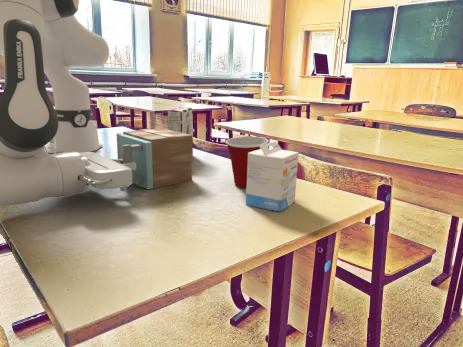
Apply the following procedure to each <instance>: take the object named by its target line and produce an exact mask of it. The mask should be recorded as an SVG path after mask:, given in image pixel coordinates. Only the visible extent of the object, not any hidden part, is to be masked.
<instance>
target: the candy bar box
mask: <svg viewBox="0 0 463 347" xmlns="http://www.w3.org/2000/svg"><path fill="white" fill-rule="evenodd" d="M166 115H167V130H172V131H176V132H180V133H185V134H189V135H192V156H194V148H193V146H194V143H193V141H194V139H193V136H194V135H193V134H194V133H193V131H194V130H193V107H185V106H184V107H183V106H181V107H176V108H172V109H169V110H167V114H166Z"/></svg>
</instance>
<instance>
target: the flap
mask: <svg viewBox="0 0 463 347" xmlns="http://www.w3.org/2000/svg"><path fill="white" fill-rule="evenodd" d="M116 147H117V149H116V150H117V159H123V164H125V163H126V162H131V161H132V162H135V163H136V170H132V184H135V185H138V186H140V187H141V188H144V189H146V190H151V189H154V188H153V169H152V142H149V141H146V140H142V139H139V138H135V137H132V136H129V135H125V134H123V133H121V132H120V133H117V132H116Z"/></svg>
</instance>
